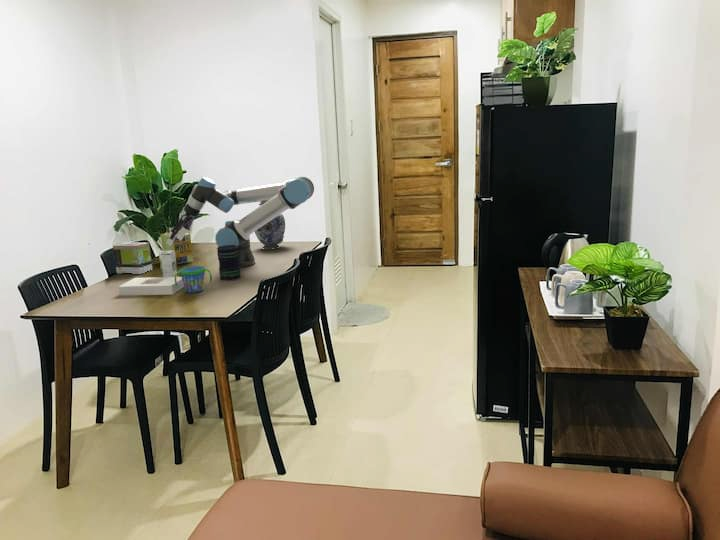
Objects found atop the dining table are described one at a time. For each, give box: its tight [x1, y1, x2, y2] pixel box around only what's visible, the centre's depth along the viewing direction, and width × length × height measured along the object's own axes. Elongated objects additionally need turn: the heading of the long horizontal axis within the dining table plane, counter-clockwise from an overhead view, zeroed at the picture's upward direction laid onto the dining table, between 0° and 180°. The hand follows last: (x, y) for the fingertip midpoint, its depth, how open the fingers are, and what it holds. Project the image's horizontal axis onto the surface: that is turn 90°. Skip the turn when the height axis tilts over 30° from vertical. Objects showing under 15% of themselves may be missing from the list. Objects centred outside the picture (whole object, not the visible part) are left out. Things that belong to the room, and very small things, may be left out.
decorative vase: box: [254, 200, 286, 250], centre depth 350 cm, size 21×19×28 cm
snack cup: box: [175, 265, 213, 294], centre depth 260 cm, size 16×10×10 cm
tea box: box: [112, 241, 153, 275], centre depth 304 cm, size 15×10×15 cm, turn 71°
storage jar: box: [216, 245, 242, 282], centre depth 281 cm, size 10×10×15 cm
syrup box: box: [158, 250, 178, 277], centre depth 280 cm, size 6×6×14 cm
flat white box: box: [117, 276, 185, 296], centre depth 265 cm, size 24×16×4 cm, turn 85°
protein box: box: [160, 231, 194, 266], centre depth 324 cm, size 10×15×16 cm
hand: (173, 241), depth 298 cm, fingers open, 13 cm apart
